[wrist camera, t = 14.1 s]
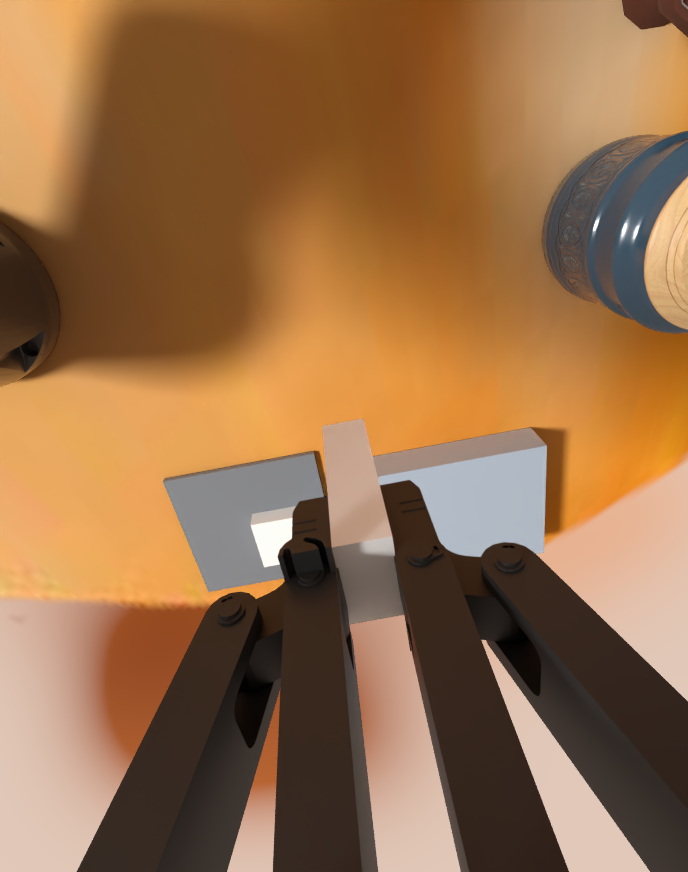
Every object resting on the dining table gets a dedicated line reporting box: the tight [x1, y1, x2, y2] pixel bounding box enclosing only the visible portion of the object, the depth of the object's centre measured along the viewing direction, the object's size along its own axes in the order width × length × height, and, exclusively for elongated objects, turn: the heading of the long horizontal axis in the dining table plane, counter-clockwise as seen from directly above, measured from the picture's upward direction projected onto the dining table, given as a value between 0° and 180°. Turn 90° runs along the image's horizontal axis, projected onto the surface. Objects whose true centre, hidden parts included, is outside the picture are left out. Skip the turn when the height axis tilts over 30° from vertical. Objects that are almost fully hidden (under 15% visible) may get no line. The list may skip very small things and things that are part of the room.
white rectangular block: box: [251, 506, 296, 567], centre depth 55 cm, size 9×6×2 cm, turn 100°
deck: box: [373, 427, 547, 557], centre depth 54 cm, size 22×14×4 cm, turn 100°
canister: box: [543, 131, 688, 334], centre depth 36 cm, size 13×13×18 cm
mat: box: [163, 451, 324, 592], centre depth 55 cm, size 16×16×1 cm
